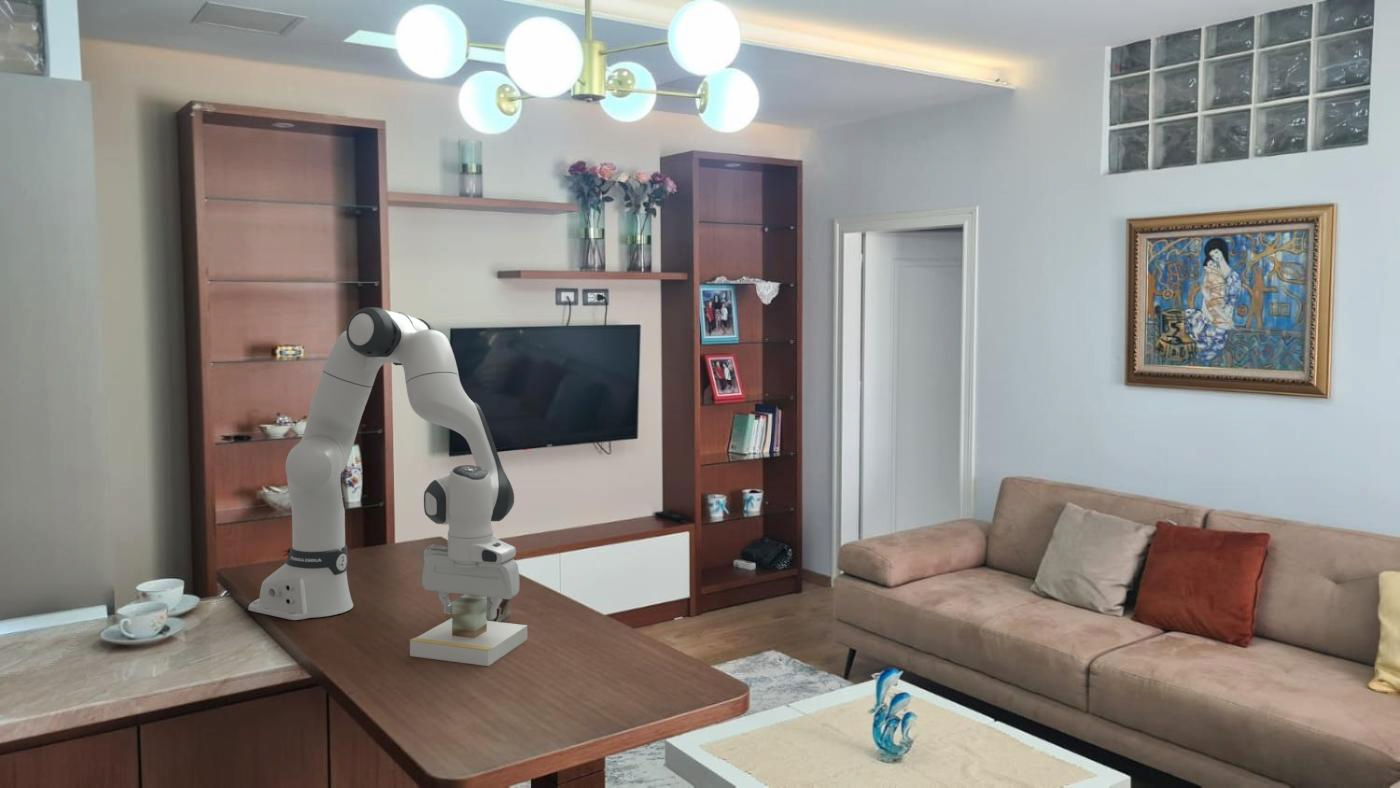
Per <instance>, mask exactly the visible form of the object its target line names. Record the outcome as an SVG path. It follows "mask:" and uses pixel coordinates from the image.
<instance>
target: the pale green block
mask: <svg viewBox="0 0 1400 788" xmlns="http://www.w3.org/2000/svg"><path fill="white" fill-rule="evenodd" d="M451 603H452V614H451V618H452V636H460V637H468V638H476V637H478V636H479V635H481V634H483V633H484V632H486V631H487V618H486V615H487V614H486V610H487V597H481V596H472V595H465V594H462V595H461V596H460V597H457V598H455V599H454V600H452V601H451Z"/></svg>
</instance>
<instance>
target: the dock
mask: <svg viewBox="0 0 1400 788" xmlns="http://www.w3.org/2000/svg"><path fill="white" fill-rule="evenodd" d="M527 640H528V625H527V624H518V623H510V622H503V621H501V622H494V621H487V631H486V632H484V633H483V634H481V635H479V636H478V637H476V638H468V637H460V636H452V617H451V618H449V619H447V620H446V621H444V622H442V623H440V624H438V625H436V626H434V627H433V628H430V629H429V630H427V631H426V632H424V633H422V634H420V635H418V636H416V637H412V638H411V639H409V656H410V657H416V658H422V659H432V660H439V661H445V662H453V663H461V664H468V665H475V666H476V665H477V666H483V667H486V666H487V667H489V666H491V665H492V664H494V663H495V662H496V661H498V660H500V659H501V658H502V657H504V656H505V655H507V654H509V653H511V651H513V650H514V649H516V648H517V647H519V646H520V645H522V644H523V643H524V642H526V641H527Z"/></svg>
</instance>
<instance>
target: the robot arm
mask: <svg viewBox="0 0 1400 788" xmlns="http://www.w3.org/2000/svg"><path fill="white" fill-rule="evenodd" d="M346 325H347V326H346V330H345V331H342V332H341V334H340V335H339V336H338V338H337V340H336V341H335V343H334V344H333V346H332V348H331V350H330V352H329V354H328V357H327V359H326V361H325V363H324V366H323V368H322V372H321V374H320V377H319V380H318V382H317V384H316V385H317V386H316V388H315V391H314V394H313V396H312V399H311V401H310V405H309V412H308V416H307V420H306V424H305V428H304V431H303V433H302V437H301V439H300V441H299V442H298V443H296V444H295V445H294V446H293V447H292V448H291V449H290V451H289V452H288V454H287V457H286V461H285V474H286V480H287V487H288V488H287V489H288V496H289V501H290V508H291V509H290V510H291V521H292V523H291V527H292V529H291V531H292V533H291V534H292V546H290V547H289V548H288V549H285V550H283V551H281V553H283V554H282V555H281V557H285V556H287V557H286V560H285V563H284V564H282V565H281V566H280V567H279V568H277V569H276V570H275V571H274V572H272V573H271V574H270V575H269V576H267V577H266V578H265V579H264V580H263V581H262V583H261V586H260V592H259V598H257V599H255V600H253V601H252V602H250V603H249V605H248V611H251V612H253V613H259V614H263V615H267V616H272V617H276V618H277V617H278V618H280V619H281V618H282V619H286V620H290V621H298V620H305V619H310V618H311V619H312V618H313V619H314V618H323V617H330V616H335V615H338V614H343V613H346V612H348V611H350V610H351V609H353V607H354V603H353V600H352V596H351V593H350V588H349V583H348V582H349V580H348V575H347V574H348V573H347V567H348V545H347V544H346V515H345V513H346V510H345V507H344V499H343V493H342V492H343V491H342V482H341V481H342V479H341V477H342V476H341V475H342V473H343V472H344V471H345V469H346V467H347V465H348V463H349V459H350V456H351V453H352V450H353V447H354V444H355V441H356V437H357V433H358V430H359V426H360V423H361V420H362V416H363V414H364V411H365V407H366V405H367V403H368V400H369V397H370V395H371V392H372V389H373V386H374V382H375V380H376V377H377V374H378V372H379V370H380V368H381V367H382V366H383V365H385V364H387V363H388V364H389V363H392V364H393V365H394V366H402V367H403V372H404V381H405V387H406V393H407V398H408V402H409V404H410V407H411V409H412V411H413V412H415V414H416V415H417V416H419V417H420V418H421V419H423V420H424V421H427V422H428V423H431V424H434V425H437V426H440V427H443V428H445V429H446V428H447V429H450V430H451V431H454V432H456V433H458V434H460V435H461V436H462V437H463V438H464V439H465V440H466V442H467V444H468V446H469V448H470V451H471V454H472V457H473V461H474V463H475V465H473V464H471V465H470V464H462V465H458V466H455V467H454V468H452V469H451V470H450V473H449V475H447V476H443V477H440V478H437V479H434V480H432V481H430V483H429V484H428V486H427V487H426V489H425V490H424V492H423V510H424V513H425V516H427V518H429V520H431V521H432V522H433V523H435V524H436V525H443V526H445V525H448V530H447V545H445V544H442V545H441V544H439V545H438V544H430V545H429V546H427V547H426V548H424V551H423V562H424V563H423V568H422V579H421V585H422V587H423V589H424V590H425V591H431V592H438V598H439V600H440V602H441V604H442V605H443V613H444V614H449V615H452V601H451V599H450V597H449V595H450V594H458V595H474V596H483V597H491V602H492V603H493V602H494V603H493V605H492V607H491V608H489V609H487V610H486V614H487V615H486V618H488V619H494V618H496V616H497V608H498V607H499V605H500V603H501V601H502V599H510V600H511V599H513V598H515V596H517V595H518V594H519V592H520V572H519V571H520V570H519V566H518V563H517V562H516V560H515V559H514V557H515V556H516V555H517V549H516V547H515V546H513V545H512V544H510V545H509V543H507V542H504V541H503V540H500V539H498V538H496V537H494V530H493V526H492V522H501V521H502V520H504V519H505V517H506V516H508V514H509V513H510V511H511V509H512V508H513V507H514V504H515V495H514V494H515V493H514V489H513V486H512V484H511V482H510V479H509V478H508V476H507V474H506V472H505V470H504V468H503V465H502V462H501V460H500V457H499V454H498V451H497V447H496V445H495V443H494V440H493V436H492V434H491V431H490V428H489V425H488V422H487V419H486V417H485V415H484V412H483V411H482V409H481V407H480V405H479V404H478V403H477V402H475V401H473V400H471V398H470V397H469V396H468V394H467V393H466V391H465V389H464V387H463V385H462V383H461V379H460V375H459V374H460V373H459V370H458V369H459V368H458V365H457V362H456V358H455V354H454V352H453V348H452V346H451V343H450V341H449V339H448V337H447V335H445V334H444V333H443V332H441V331H438V330H436V328H434V326H432V325H431V323H429V322H427V321H425V320H423V319H422V318H417V317H415V316H412V315H409V314H407V313H405V312H401V311H392V310H387V309H383V308H381V307H375V306H374V307H373V306H371V307H370V306H369V307H363V308H360V309H358V310H357V311H355V312H354V313H353V314H352V315H351V317H350V318H349V320H348V322H347V324H346Z"/></svg>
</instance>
